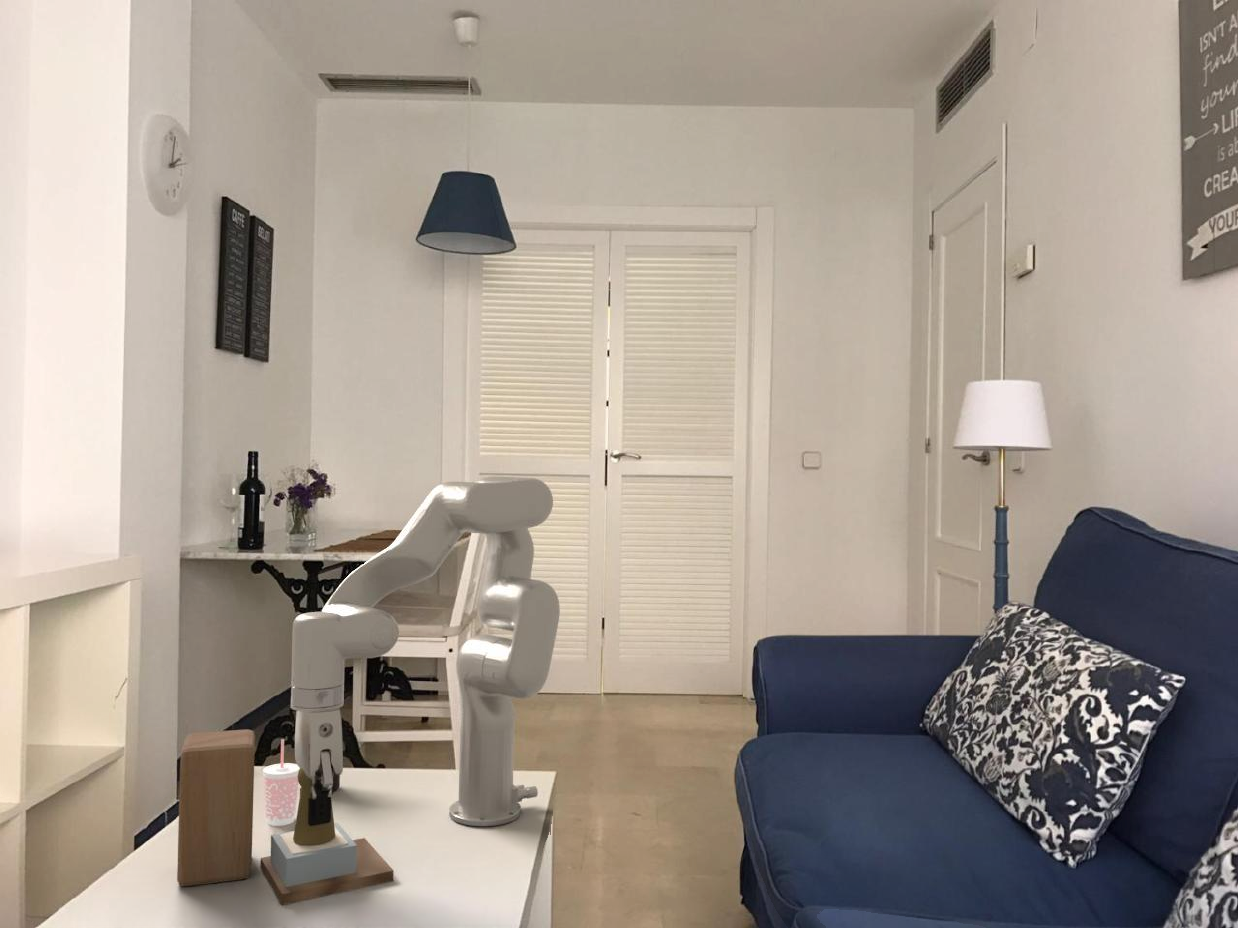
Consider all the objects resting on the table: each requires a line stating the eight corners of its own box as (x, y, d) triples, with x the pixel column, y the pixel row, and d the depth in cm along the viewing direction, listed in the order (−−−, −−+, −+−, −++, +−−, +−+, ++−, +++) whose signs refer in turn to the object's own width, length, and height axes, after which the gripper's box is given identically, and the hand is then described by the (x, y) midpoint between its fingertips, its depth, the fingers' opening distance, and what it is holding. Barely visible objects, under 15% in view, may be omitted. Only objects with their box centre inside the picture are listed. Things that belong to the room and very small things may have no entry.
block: (182, 862, 145) (185, 731, 145) (251, 854, 148) (255, 726, 148) (176, 889, 135) (180, 750, 136) (251, 880, 139) (254, 745, 139)
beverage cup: (256, 819, 163) (258, 738, 163) (290, 811, 167) (292, 732, 167) (269, 830, 158) (271, 746, 158) (305, 821, 162) (307, 740, 162)
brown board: (364, 847, 152) (364, 837, 152) (393, 880, 140) (393, 870, 140) (260, 867, 143) (260, 857, 143) (281, 904, 132) (282, 894, 132)
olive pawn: (322, 846, 137) (324, 771, 137) (284, 842, 139) (286, 767, 139) (342, 831, 143) (344, 758, 143) (306, 827, 145) (308, 755, 145)
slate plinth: (337, 848, 148) (337, 821, 148) (356, 872, 139) (356, 843, 139) (270, 861, 142) (271, 833, 142) (286, 886, 134) (286, 857, 134)
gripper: (359, 705, 136) (356, 832, 136) (327, 681, 150) (325, 796, 150) (306, 712, 132) (303, 842, 132) (278, 686, 146) (276, 805, 146)
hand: (314, 816), depth 141 cm, fingers open, 4 cm apart
